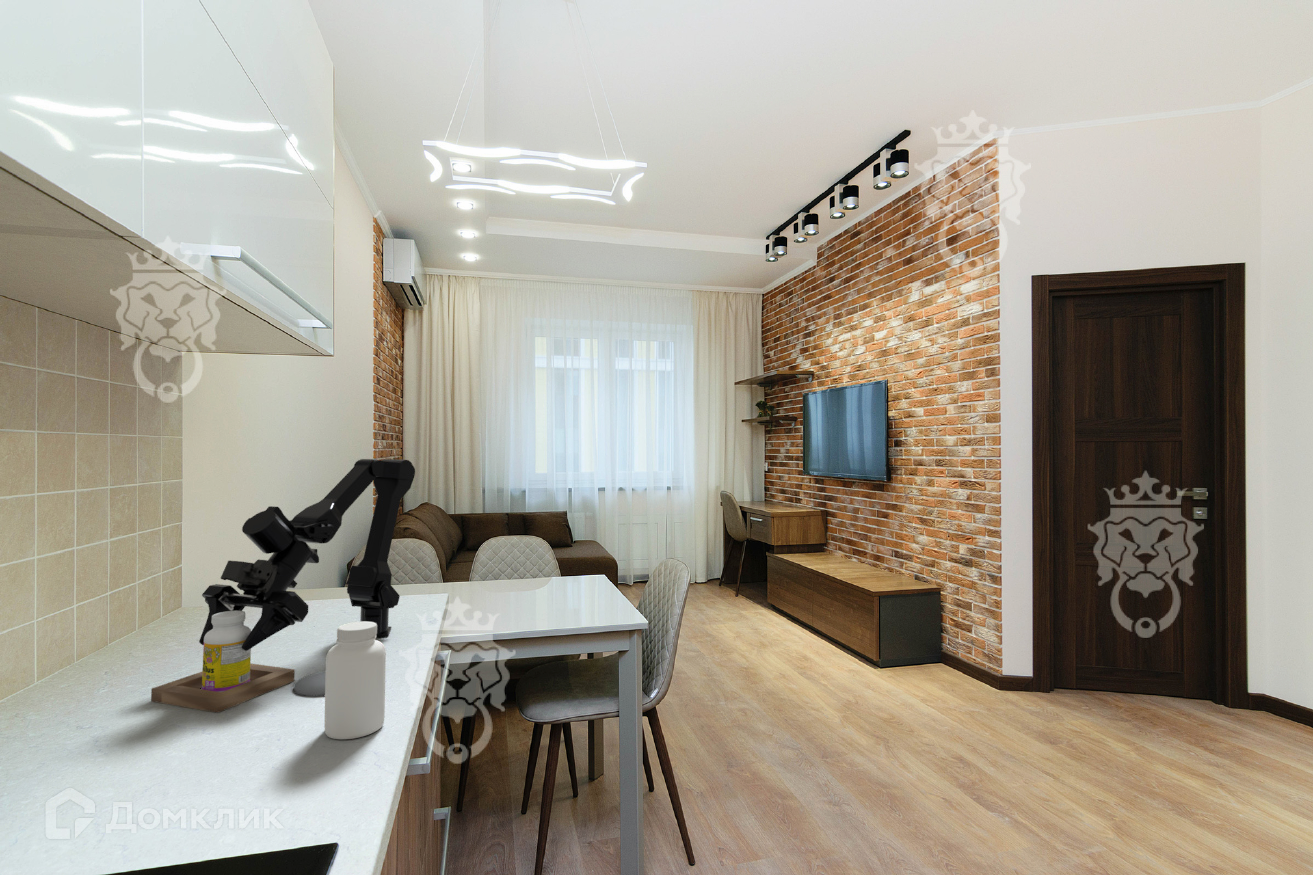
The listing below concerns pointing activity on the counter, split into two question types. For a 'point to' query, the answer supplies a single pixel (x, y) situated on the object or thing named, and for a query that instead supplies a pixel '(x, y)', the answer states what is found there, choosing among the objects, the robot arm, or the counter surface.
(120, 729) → the counter surface
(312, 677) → the coaster
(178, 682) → the pocket block
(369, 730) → the pill bottle
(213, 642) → the supplement bottle
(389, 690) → the counter surface
